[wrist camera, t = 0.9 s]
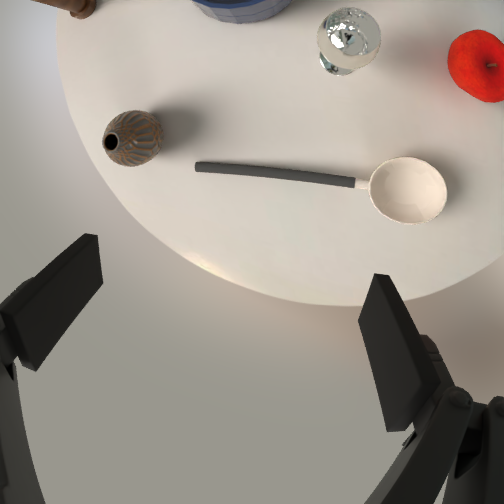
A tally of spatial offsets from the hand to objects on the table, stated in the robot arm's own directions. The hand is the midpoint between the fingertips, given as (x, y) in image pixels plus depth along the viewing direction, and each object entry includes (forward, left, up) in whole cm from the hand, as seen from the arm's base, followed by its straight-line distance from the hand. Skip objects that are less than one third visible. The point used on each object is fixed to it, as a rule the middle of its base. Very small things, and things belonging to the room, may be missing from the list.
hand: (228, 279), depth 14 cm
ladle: (-2, +5, -26) cm, 27 cm away
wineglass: (-17, +4, -26) cm, 31 cm away
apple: (-22, +20, -26) cm, 39 cm away
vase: (-2, -18, -26) cm, 32 cm away
